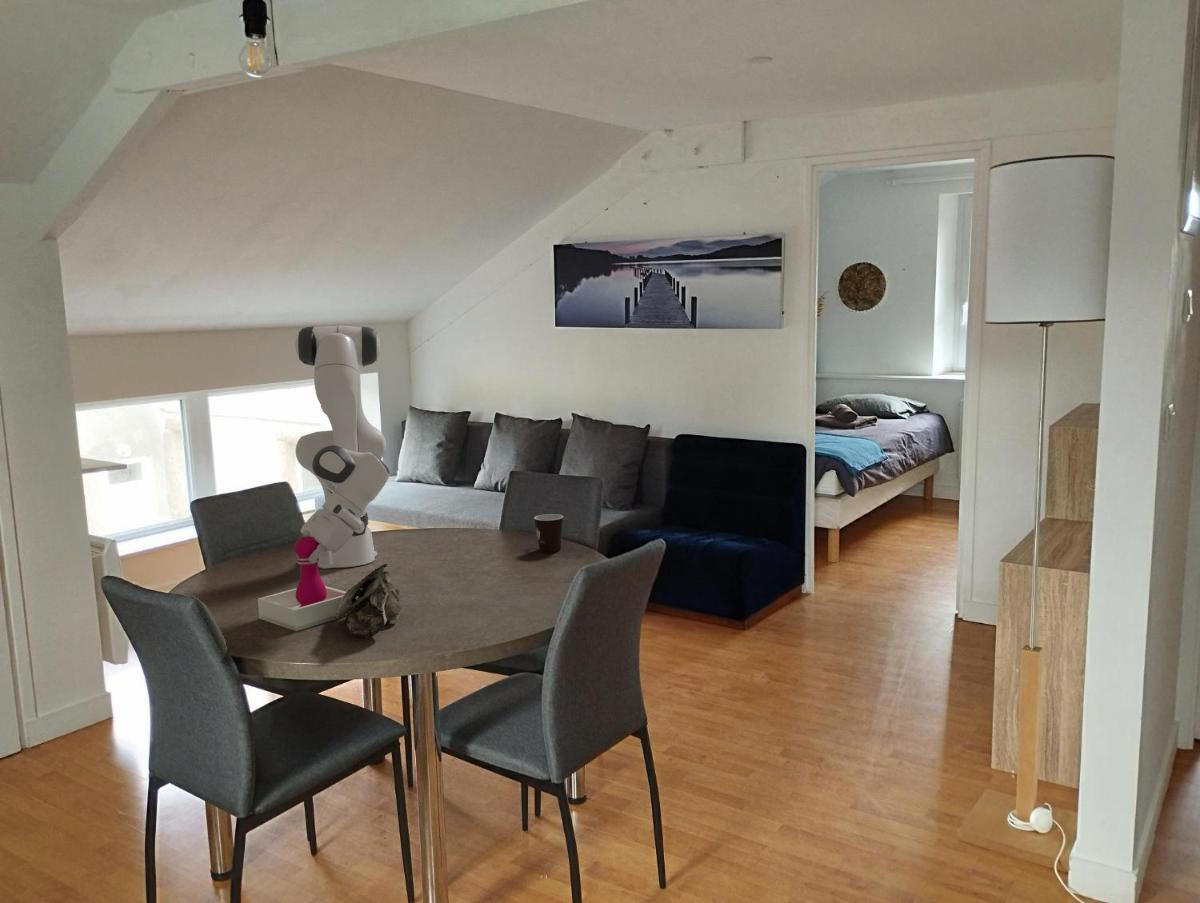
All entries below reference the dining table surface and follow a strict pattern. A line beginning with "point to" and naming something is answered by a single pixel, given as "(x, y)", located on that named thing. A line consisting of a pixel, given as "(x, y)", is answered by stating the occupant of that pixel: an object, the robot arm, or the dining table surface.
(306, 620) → the tray
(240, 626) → the dining table surface
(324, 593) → the pepper mill
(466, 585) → the dining table surface
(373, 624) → the hollow geode rock
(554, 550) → the dark brown cup
